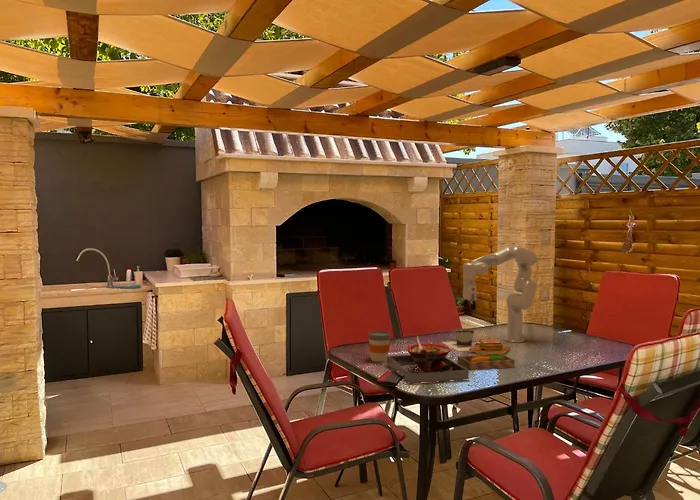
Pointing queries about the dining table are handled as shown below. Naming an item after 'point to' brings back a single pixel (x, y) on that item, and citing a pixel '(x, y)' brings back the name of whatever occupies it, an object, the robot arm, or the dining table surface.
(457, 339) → the food container
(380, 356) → the reusable coffee cup
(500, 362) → the tray
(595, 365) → the dining table surface
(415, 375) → the dark grey tray
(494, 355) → the corn
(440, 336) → the dining table surface
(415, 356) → the stew
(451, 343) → the letter board
